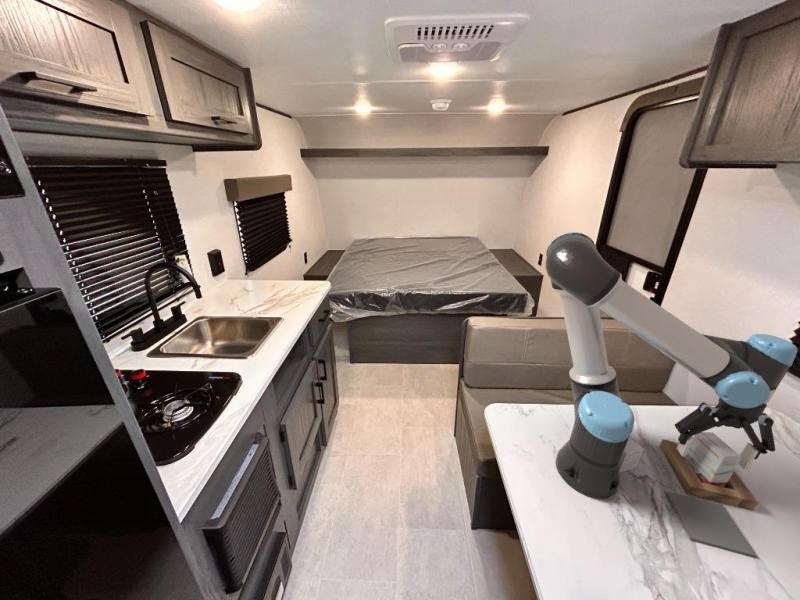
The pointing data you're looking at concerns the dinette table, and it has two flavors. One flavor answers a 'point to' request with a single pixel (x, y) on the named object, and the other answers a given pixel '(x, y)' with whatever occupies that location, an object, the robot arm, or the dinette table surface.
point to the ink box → (712, 459)
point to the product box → (630, 456)
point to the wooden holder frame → (691, 484)
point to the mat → (709, 524)
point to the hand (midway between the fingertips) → (710, 459)
